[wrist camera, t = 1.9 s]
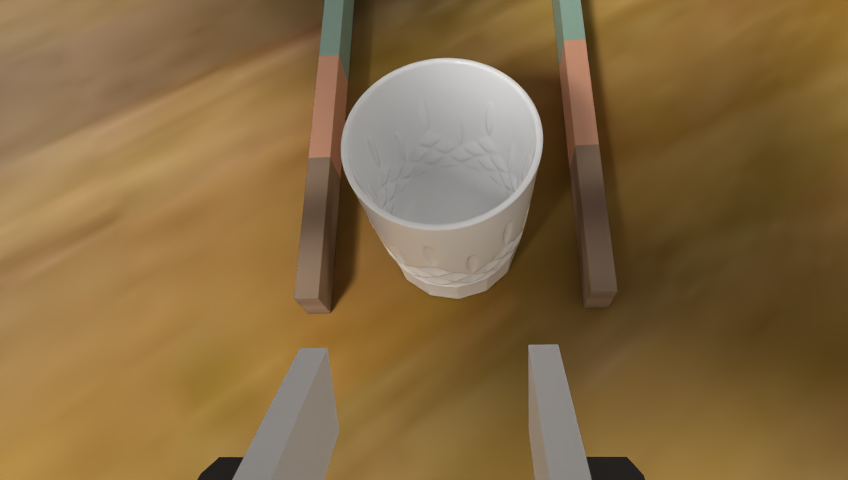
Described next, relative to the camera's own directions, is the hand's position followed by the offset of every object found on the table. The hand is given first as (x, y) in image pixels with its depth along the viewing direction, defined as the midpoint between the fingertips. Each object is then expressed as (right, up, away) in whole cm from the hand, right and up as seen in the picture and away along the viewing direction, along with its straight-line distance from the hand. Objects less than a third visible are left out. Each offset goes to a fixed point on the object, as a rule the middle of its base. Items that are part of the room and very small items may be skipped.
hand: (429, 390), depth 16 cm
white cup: (+1, +4, +16) cm, 17 cm away
